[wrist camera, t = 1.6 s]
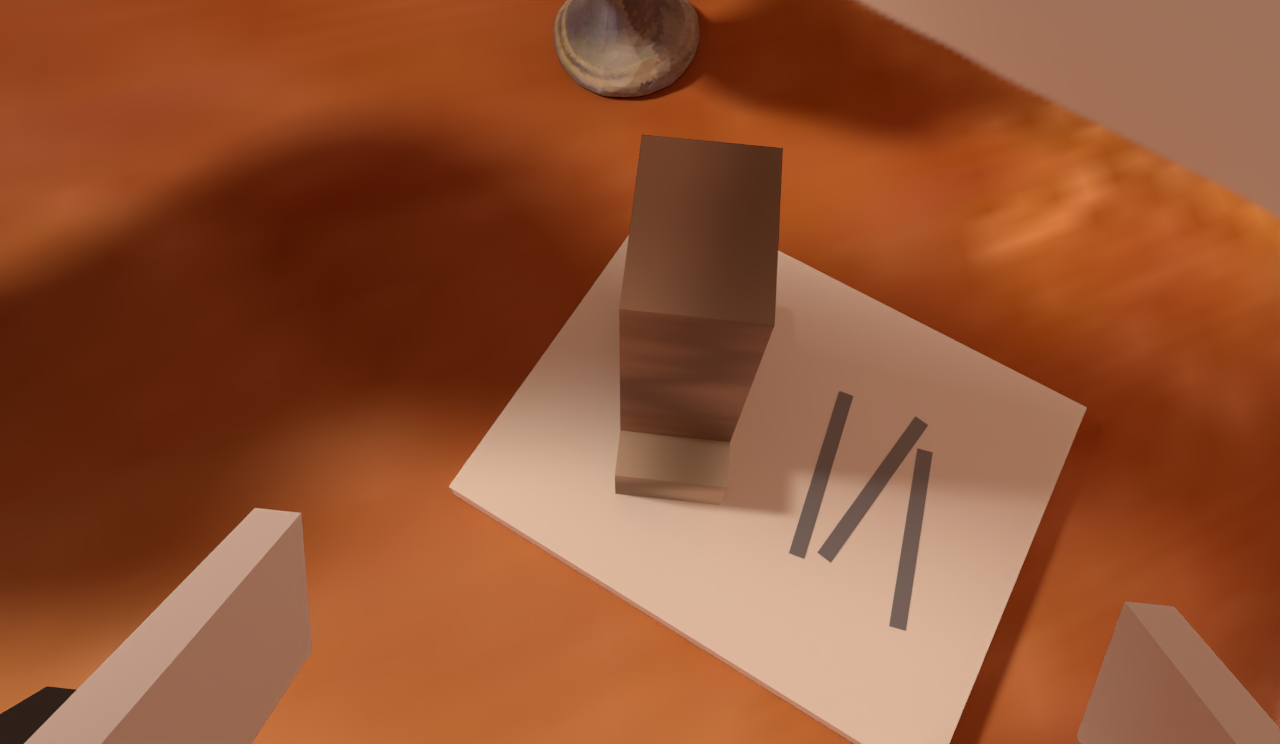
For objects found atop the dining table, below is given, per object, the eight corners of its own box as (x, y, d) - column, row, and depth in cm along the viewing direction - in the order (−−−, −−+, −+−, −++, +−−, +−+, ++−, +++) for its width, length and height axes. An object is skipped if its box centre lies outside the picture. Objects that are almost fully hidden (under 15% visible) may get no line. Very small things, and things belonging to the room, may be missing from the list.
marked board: (454, 494, 33) (448, 486, 31) (659, 205, 38) (660, 190, 37) (919, 784, 29) (931, 787, 28) (1072, 417, 34) (1087, 407, 33)
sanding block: (615, 493, 32) (611, 369, 20) (640, 288, 35) (647, 87, 24) (719, 504, 31) (771, 386, 20) (733, 297, 35) (784, 100, 24)
